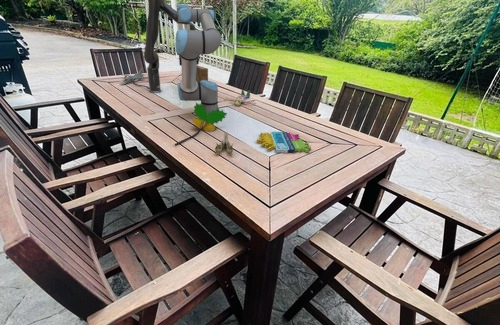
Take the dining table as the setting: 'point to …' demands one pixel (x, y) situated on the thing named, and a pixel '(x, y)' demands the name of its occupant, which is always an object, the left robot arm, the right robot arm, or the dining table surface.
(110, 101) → the dining table surface
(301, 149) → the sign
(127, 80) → the airplane
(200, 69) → the box
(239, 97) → the toy
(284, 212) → the dining table surface
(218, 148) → the jawbone
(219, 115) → the ornament
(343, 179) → the dining table surface
